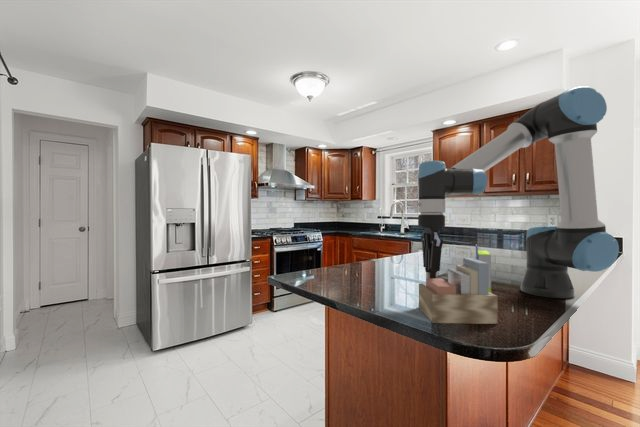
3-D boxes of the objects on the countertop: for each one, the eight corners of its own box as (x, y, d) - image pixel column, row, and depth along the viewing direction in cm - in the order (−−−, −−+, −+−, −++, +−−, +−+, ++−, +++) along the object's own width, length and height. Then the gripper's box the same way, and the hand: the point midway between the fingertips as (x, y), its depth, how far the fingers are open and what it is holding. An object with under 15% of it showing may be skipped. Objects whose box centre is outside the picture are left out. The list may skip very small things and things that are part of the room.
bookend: (455, 310, 90) (455, 268, 90) (469, 321, 81) (469, 274, 81) (448, 310, 90) (448, 268, 90) (461, 321, 81) (461, 274, 81)
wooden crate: (473, 307, 92) (473, 284, 92) (497, 323, 79) (497, 295, 79) (418, 307, 93) (418, 283, 93) (432, 323, 80) (432, 295, 80)
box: (491, 304, 96) (491, 247, 96) (476, 303, 97) (476, 247, 97) (488, 296, 106) (488, 244, 106) (474, 294, 107) (474, 244, 107)
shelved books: (471, 310, 90) (471, 258, 90) (488, 322, 80) (488, 263, 80) (456, 310, 90) (456, 257, 90) (471, 321, 81) (470, 263, 81)
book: (441, 309, 91) (441, 278, 91) (455, 321, 81) (455, 286, 81) (426, 309, 91) (426, 278, 91) (438, 321, 81) (438, 286, 81)
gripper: (413, 213, 100) (412, 288, 100) (425, 214, 87) (424, 299, 87) (437, 213, 100) (436, 288, 100) (452, 214, 87) (452, 299, 87)
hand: (431, 293), depth 93 cm, fingers closed
